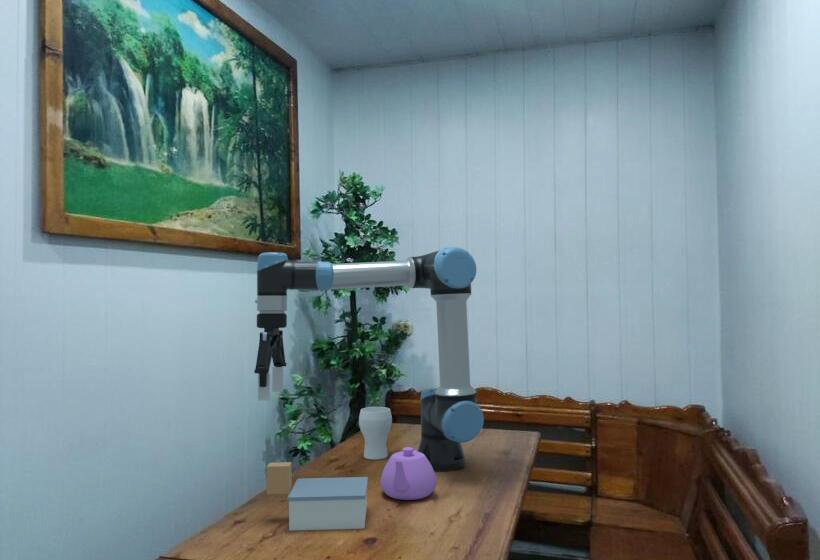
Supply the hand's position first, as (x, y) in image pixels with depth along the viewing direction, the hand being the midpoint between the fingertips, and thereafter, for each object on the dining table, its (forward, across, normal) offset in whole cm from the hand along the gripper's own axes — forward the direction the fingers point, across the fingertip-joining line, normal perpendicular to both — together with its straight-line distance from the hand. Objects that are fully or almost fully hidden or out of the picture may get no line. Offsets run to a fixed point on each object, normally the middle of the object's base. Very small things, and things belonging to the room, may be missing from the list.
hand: (271, 395), depth 137 cm
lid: (+19, +15, +15) cm, 28 cm away
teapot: (+26, +1, +35) cm, 43 cm away
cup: (+26, -37, +24) cm, 51 cm away
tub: (+26, +15, +17) cm, 35 cm away
